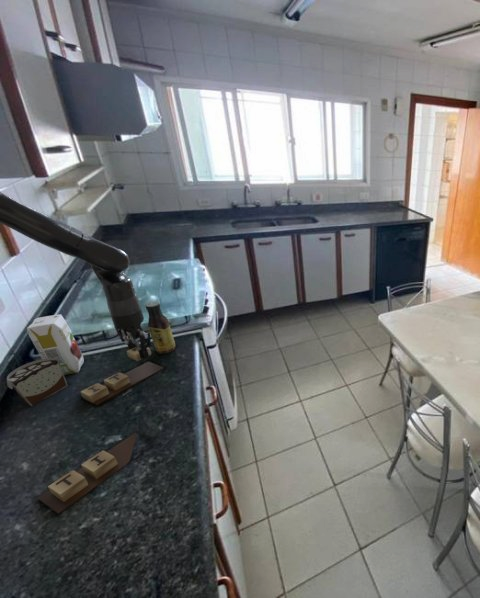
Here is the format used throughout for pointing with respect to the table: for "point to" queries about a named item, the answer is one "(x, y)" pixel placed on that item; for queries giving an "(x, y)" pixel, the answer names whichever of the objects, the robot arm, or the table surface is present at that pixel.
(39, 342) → the juice carton
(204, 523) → the table surface
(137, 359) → the s tile
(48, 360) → the food container
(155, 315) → the sauce bottle
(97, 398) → the right word rack
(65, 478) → the left word rack
